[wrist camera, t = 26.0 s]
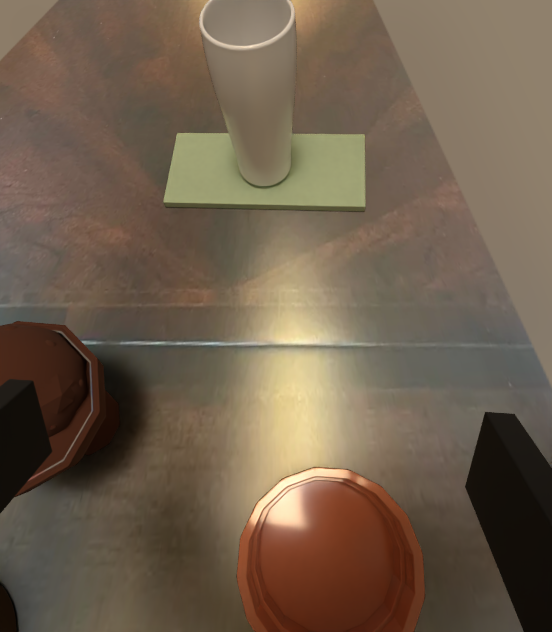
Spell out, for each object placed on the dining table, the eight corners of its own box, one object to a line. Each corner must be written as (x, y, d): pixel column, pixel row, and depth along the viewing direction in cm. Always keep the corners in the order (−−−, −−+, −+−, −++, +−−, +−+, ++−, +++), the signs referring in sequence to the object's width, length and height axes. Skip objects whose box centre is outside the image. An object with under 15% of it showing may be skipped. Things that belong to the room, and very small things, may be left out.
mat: (363, 140, 43) (364, 134, 43) (364, 211, 40) (365, 206, 39) (179, 138, 45) (177, 132, 44) (165, 207, 42) (163, 202, 41)
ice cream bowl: (79, 522, 32) (-97, 560, 18) (-1, 424, 35) (-204, 390, 21) (178, 417, 34) (93, 378, 20) (95, 334, 37) (-29, 250, 23)
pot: (400, 474, 32) (419, 474, 26) (406, 653, 28) (430, 694, 22) (255, 463, 32) (246, 461, 27) (241, 635, 28) (227, 670, 23)
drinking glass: (251, 134, 44) (227, -27, 30) (309, 154, 42) (313, -5, 28) (220, 181, 42) (178, 33, 28) (280, 204, 40) (267, 60, 26)
